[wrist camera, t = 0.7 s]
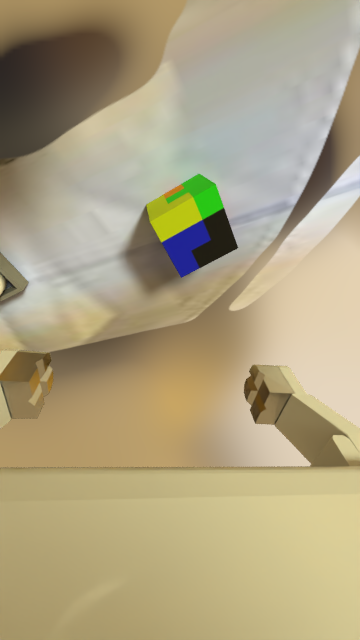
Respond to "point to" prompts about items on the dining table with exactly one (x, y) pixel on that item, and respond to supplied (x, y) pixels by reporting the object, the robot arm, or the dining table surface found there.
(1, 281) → the dome
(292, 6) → the dining table surface
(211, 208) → the puzzle toy
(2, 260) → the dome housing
